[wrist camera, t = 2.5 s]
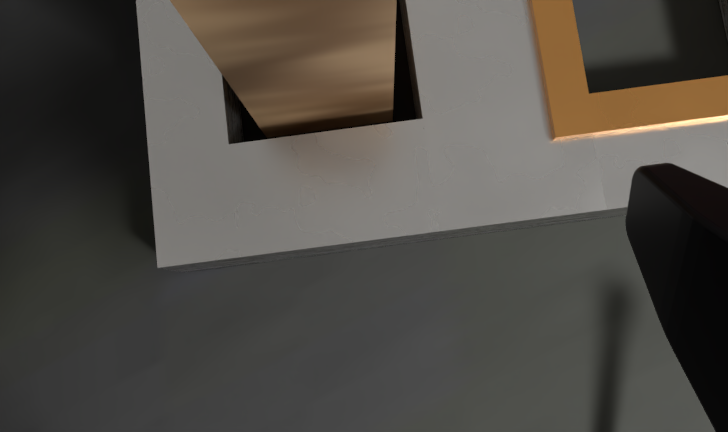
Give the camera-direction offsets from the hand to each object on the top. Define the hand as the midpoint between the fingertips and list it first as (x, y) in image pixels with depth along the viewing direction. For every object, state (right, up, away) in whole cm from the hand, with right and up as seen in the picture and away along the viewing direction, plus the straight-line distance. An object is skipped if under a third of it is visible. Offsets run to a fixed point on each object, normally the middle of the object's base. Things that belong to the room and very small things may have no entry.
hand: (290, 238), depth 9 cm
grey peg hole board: (+5, +6, +14) cm, 16 cm away
